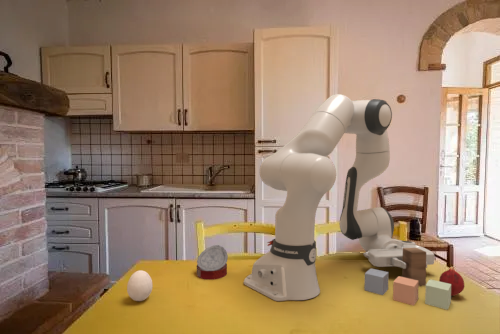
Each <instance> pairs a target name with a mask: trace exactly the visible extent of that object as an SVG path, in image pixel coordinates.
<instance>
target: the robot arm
mask: <svg viewBox="0 0 500 334" xmlns="http://www.w3.org/2000/svg"><path fill="white" fill-rule="evenodd" d="M392 111H393V110H392V108H391V106H390V105H389V103H388V102H387V101H386V100H383V99H379V98H372V99H359V100H357V99H356V100H352V99H351V98H350V97H348V96H347V95H345V94H340V93H336V94H332V95H330V96H329V97H328V98H327V99H326V100H324V101H323V102H322V103H321V104H320V105H319V106H318V108H316V110H315V111H314V113H312V115H311V116H310V118H309V119H308V121H307V122H306V123H305V125H304V126H303V127H302V128H301V130H300V131H299V132H298V133H297V134H296V135H295V136H294V137H293V138H292V139H290V140H289V141H288V142H287V143H286V144H285V145H283V146H282V147H281V148H280V149H279V150H277V151H276V152H275V153H272V154H271V155H269V156H267V157H266V158H264V159H263V161H262V162H261V164H260V167H259V176H260V179H261V181H262V182H263V183H264V185H266V186H268V187H270V188H272V189H274V190H278V191H283V192H286V198H285V202H284V204H283V205H282V206H281V207H279V209H277V211H276V213H275V216H274V217H275V220H274V221H275V223H274V224H275V226H274V229H275V232H274V235H275V236H274V238H273V239H272V240H269V241H267V242H266V243H267V244H266V245H267V246H268V247H269V246H271V247H270V250H269V251H268V252H267V253H265V254H263V255H261V256H260V257H259V258H258V259H257V260H255V262H254V263H253V265H252V269H251V274H250V273H249V275H247V276H246V277H245V278H244V280H243V285H245V286H247V287H249V288H251V289H253V290H254V291H256V292H258V293H260V294H262V295H264V296H266V297H267V298H269V299H271V300H272V301H275V302H284V301H305V300H309V299H313V298H315V297H318V295H319V294H320V293H321V289H320V285H319V281H318V276H317V270H316V269H317V268H316V261H317V260H316V258H317V242H316V240H315V230H316V228H315V227H316V213H317V211H318V207H319V204H320V202H321V200H322V198H323V196H325V195H326V194H327V193H328V192H329V191H330V190H331V189H332V188H333V187H334V185H335V183H336V179H337V169H336V166H335V164H334V162H333V161H332V159H331V158H329V157H328V156H330V155H331V154H332V153H333V151H334V150H335V148H336V147H337V145H338V144H339V142H340V141H341V139H342V137H343V136H344V134H350V135H355V136H356V137H355V138H356V139H355V159H354V162H353V165H352V166H351V167H350V168H349V169H348V170H347V173H346V177H345V184H344V192H343V201H342V209H341V214H340V217H339V230H340V232H341V235H343V236H344V237H346V238H347V239H349V240H351V241H354V240H358V242H359V244H360V246H361V248H362V249H363V251H365V252H363V256H364V257H365V258H367V259H368V261H369V262H370V264H371V265H372V266H374V267H376V268H377V267H378V268H385V267H388V268H389V267H398V268H401V269H402V268H403V269H408V268H409V263H408V262H406V261H403V248H418V249H421V250H423V251H425V252H426V269H427V268H428V266H429V265H434V264H435V253H434V252H433V251H431V250H429V249H428V248H425V247H424V246H422V245H421V246H420V245H417V244H416V242H414V241H409V240H401V239H396V238H392V237H393V235H394V230H395V221H394V218H393V216H392V214H391V213H390V211H388V210H387V209H386V208H384V207H381V206H379V207H372V208H371V207H370V208H368V209H366V208H365V209H361V210H359V209H358V205H359V198H360V197H359V196H360V191H361V189H362V188H363V186H365V185H366V183H368V182H370V181H371V180H373V179H375V178H377V177H379V176H380V175H381V174H383V173H384V172H385V171H386V170H387V168H388V167H389V164H390V158H391V154H390V140H389V134H388V128H389V127H390V125H391V122H392V118H393V112H392Z"/></svg>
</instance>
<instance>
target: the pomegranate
mask: <svg viewBox="0 0 500 334" xmlns="http://www.w3.org/2000/svg"><path fill="white" fill-rule="evenodd" d="M438 281H440V282H444V283H449V284H451V297H454V296H457V295H459V294H461V293H462V292H463V291H464V289H465V280H464V278H463V277H462V275H461V274H460V273H459V272H457V270H455V267H453V266H450V267H449V269H447V270H445V271H444V272H442V273H441V274H440V275H439V279H438Z"/></svg>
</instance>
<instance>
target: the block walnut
mask: <svg viewBox="0 0 500 334" xmlns="http://www.w3.org/2000/svg"><path fill="white" fill-rule="evenodd" d="M403 261H406V262H408V263H409V268H408V269H403V268H401V269H402V270H401V271H402V273H401V274H402V275H401V277H405V278H409V279H414V280H418V281H419V287H424V286H425V287H426V284H427V268H426V252H425V251H423V250H421V249H418V248H403Z"/></svg>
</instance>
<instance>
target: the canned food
mask: <svg viewBox="0 0 500 334" xmlns="http://www.w3.org/2000/svg"><path fill="white" fill-rule="evenodd" d="M228 256H229V255H228V252H227V250H226V249H225V247H223V246H221V245H218V244H217V245H215V244H214V245H212V246H210V247H207V248H205V249H204V250H203V251H201V252H200V253H199V255H198V257H197V260H196V277H197V278H199V279H202V280H209V281H210V280H212V281H213V280H219V279H222V278H224V277H226V276H227V274H228V264H227V262H228V258H229V257H228Z"/></svg>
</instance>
